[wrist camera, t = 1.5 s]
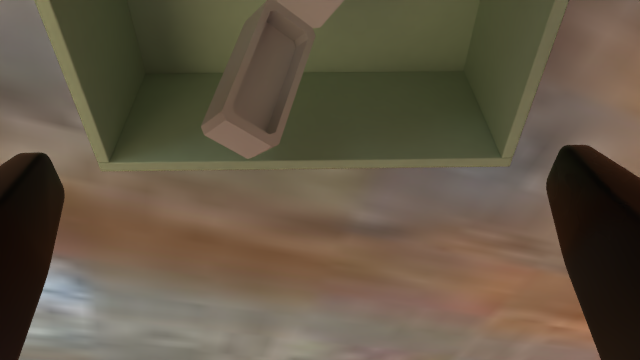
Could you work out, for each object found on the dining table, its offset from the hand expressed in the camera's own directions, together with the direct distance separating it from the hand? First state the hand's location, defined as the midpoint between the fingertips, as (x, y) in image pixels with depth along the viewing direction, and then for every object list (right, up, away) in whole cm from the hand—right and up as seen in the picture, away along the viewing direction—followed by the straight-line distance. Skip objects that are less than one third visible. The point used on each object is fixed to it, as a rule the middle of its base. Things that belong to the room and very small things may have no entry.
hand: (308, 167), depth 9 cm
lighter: (0, +8, +8) cm, 12 cm away
